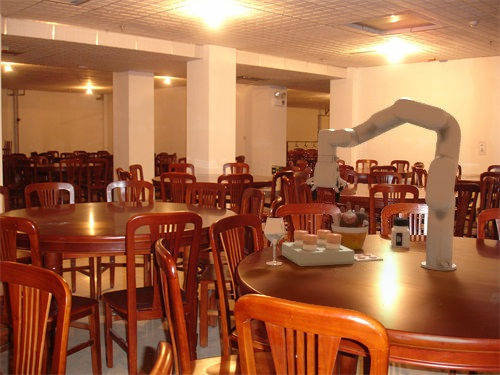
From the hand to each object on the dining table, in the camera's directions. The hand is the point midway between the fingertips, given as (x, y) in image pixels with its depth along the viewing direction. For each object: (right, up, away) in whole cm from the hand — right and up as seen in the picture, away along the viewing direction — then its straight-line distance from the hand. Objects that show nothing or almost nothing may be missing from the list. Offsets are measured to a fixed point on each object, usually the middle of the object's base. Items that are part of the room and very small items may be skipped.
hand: (325, 201), depth 226 cm
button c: (-8, -20, -11) cm, 24 cm away
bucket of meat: (+13, -22, +20) cm, 32 cm away
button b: (-1, -19, +1) cm, 19 cm away
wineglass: (-22, -24, -15) cm, 36 cm away
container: (+38, -21, +27) cm, 51 cm away
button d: (-10, -19, -2) cm, 22 cm away
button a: (+2, -20, -9) cm, 22 cm away
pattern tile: (+16, -23, -2) cm, 28 cm away
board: (-4, -23, -5) cm, 24 cm away
